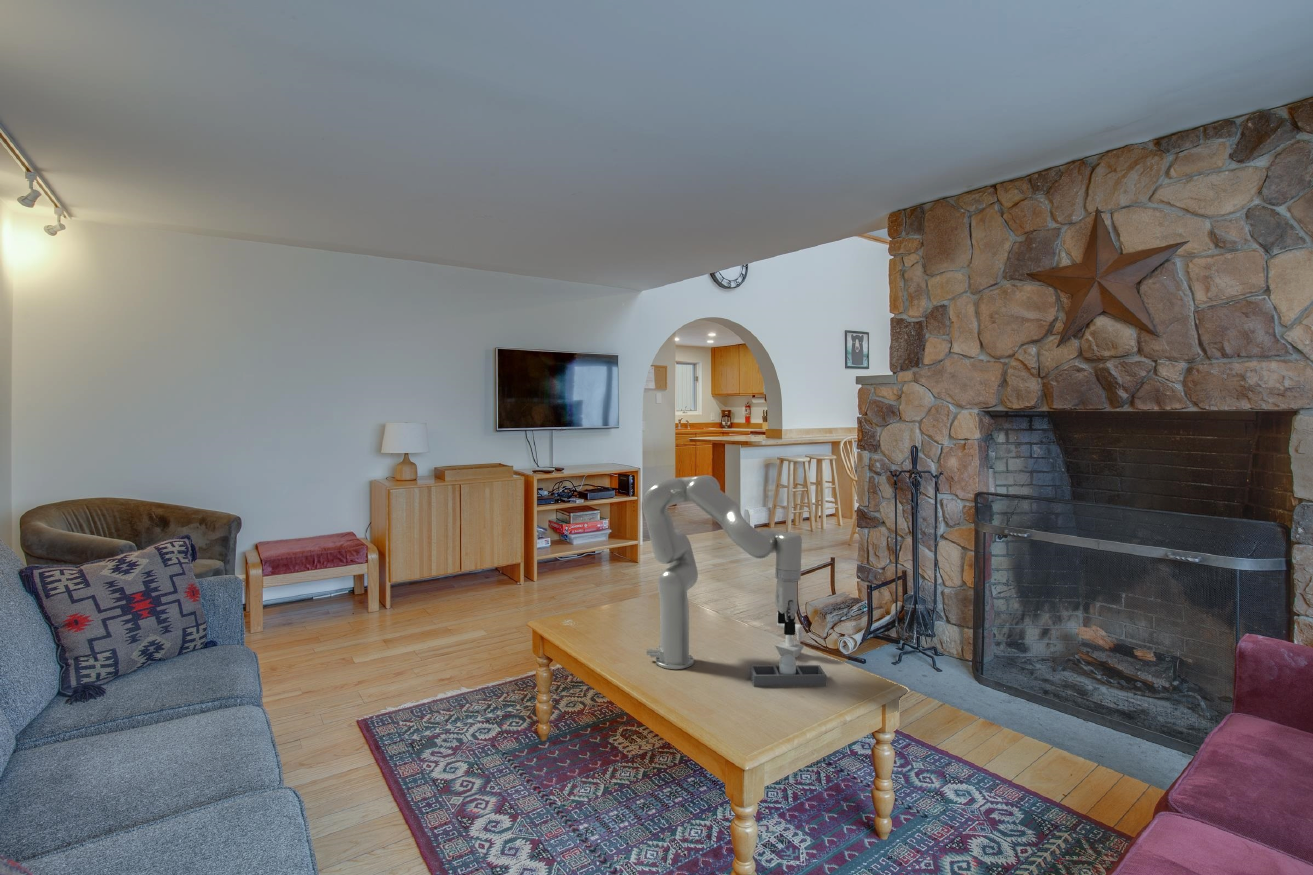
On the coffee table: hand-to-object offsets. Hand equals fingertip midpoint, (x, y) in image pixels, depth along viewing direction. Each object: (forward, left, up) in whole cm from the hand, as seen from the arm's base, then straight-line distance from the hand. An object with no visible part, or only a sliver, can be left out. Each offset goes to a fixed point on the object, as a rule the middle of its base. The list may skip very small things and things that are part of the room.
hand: (786, 628), depth 197 cm
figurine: (+6, +20, -16) cm, 26 cm away
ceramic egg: (0, -1, -15) cm, 15 cm away
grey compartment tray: (+1, 0, -16) cm, 16 cm away
